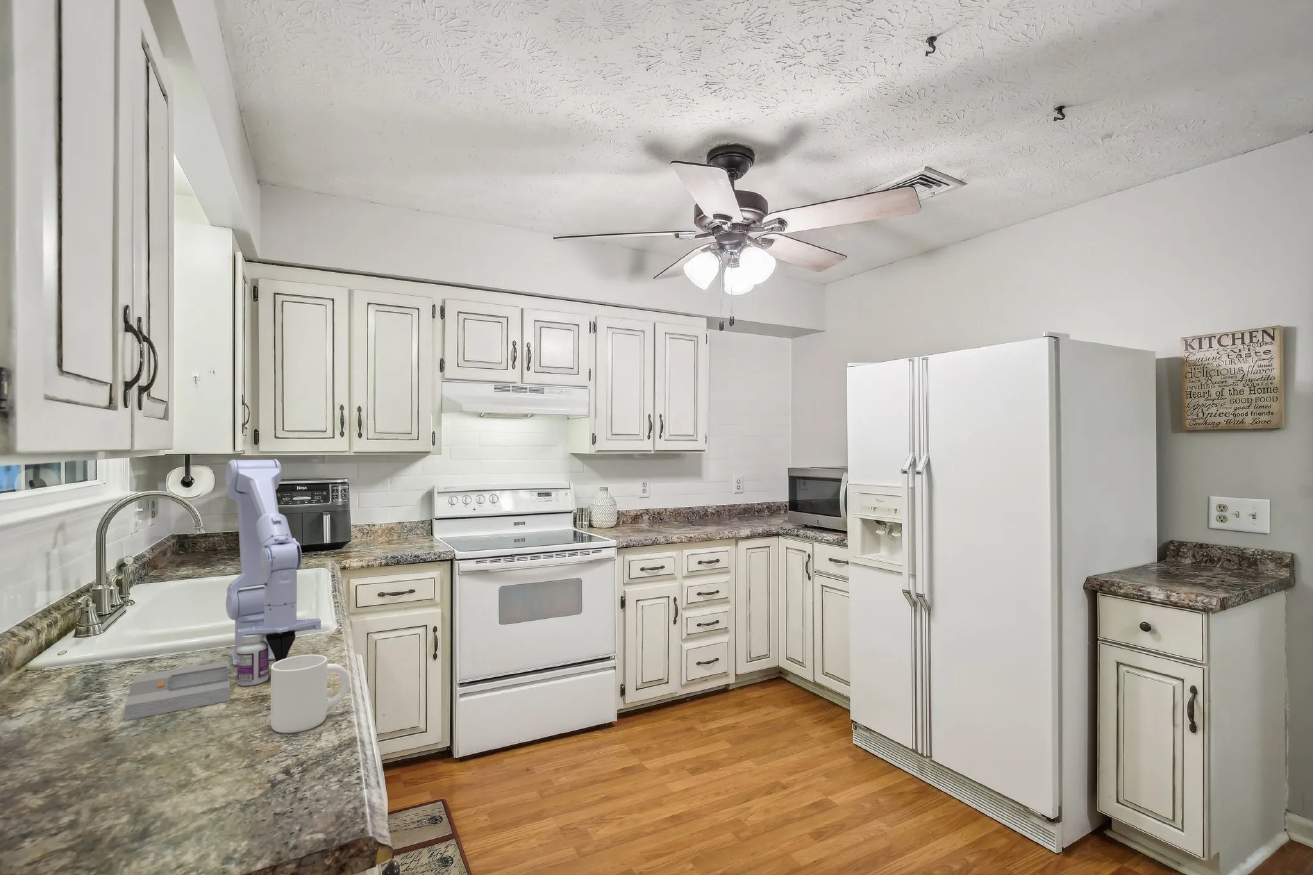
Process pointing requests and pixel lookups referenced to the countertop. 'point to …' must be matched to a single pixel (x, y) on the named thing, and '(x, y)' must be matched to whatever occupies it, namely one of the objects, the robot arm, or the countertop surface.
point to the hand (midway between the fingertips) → (280, 669)
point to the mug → (303, 692)
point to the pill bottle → (252, 660)
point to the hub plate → (178, 690)
